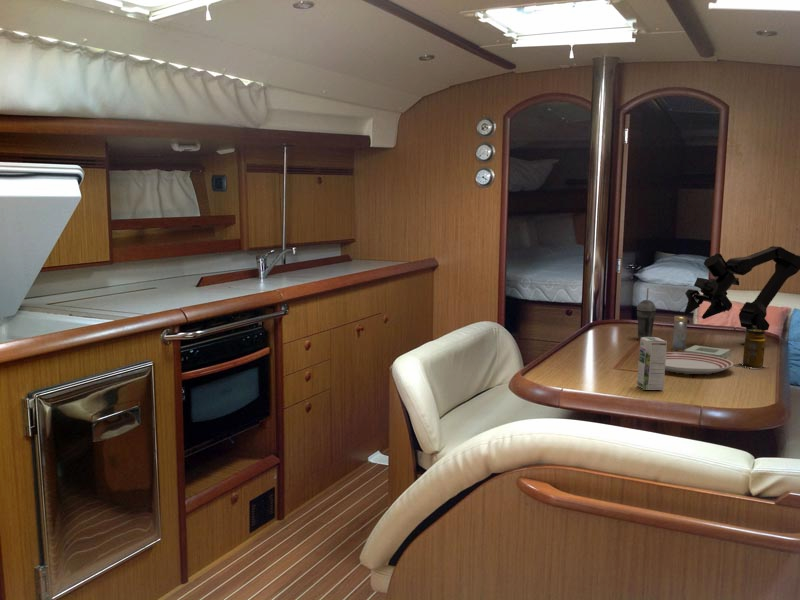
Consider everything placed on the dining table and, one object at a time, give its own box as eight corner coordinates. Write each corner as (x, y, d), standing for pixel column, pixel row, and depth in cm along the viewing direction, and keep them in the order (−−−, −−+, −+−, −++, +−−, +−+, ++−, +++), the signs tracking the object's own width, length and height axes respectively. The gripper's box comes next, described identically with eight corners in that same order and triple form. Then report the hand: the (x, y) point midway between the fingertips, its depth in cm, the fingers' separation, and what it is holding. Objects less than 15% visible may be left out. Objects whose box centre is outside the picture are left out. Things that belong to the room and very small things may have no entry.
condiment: (768, 367, 241) (771, 330, 239) (753, 370, 236) (757, 333, 234) (747, 362, 247) (750, 327, 245) (732, 365, 242) (735, 329, 240)
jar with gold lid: (674, 347, 270) (676, 315, 268) (686, 349, 267) (689, 316, 265) (670, 349, 266) (672, 316, 264) (682, 351, 263) (685, 318, 262)
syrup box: (636, 386, 212) (639, 336, 210) (655, 386, 213) (659, 336, 211) (644, 391, 207) (647, 340, 205) (664, 391, 207) (667, 340, 205)
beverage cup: (633, 341, 281) (636, 289, 279) (635, 337, 288) (638, 287, 285) (653, 342, 279) (657, 290, 276) (655, 339, 285) (658, 288, 283)
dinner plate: (623, 363, 244) (623, 353, 243) (686, 357, 255) (687, 347, 254) (685, 382, 219) (685, 371, 218) (752, 375, 230) (753, 364, 229)
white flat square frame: (694, 350, 265) (695, 345, 265) (729, 355, 257) (730, 349, 257) (683, 355, 256) (683, 350, 255) (719, 361, 248) (720, 355, 248)
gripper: (691, 267, 275) (664, 297, 273) (728, 272, 257) (700, 304, 255) (706, 288, 279) (680, 318, 276) (744, 294, 261) (716, 326, 259)
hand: (693, 316), depth 267 cm, fingers open, 9 cm apart
